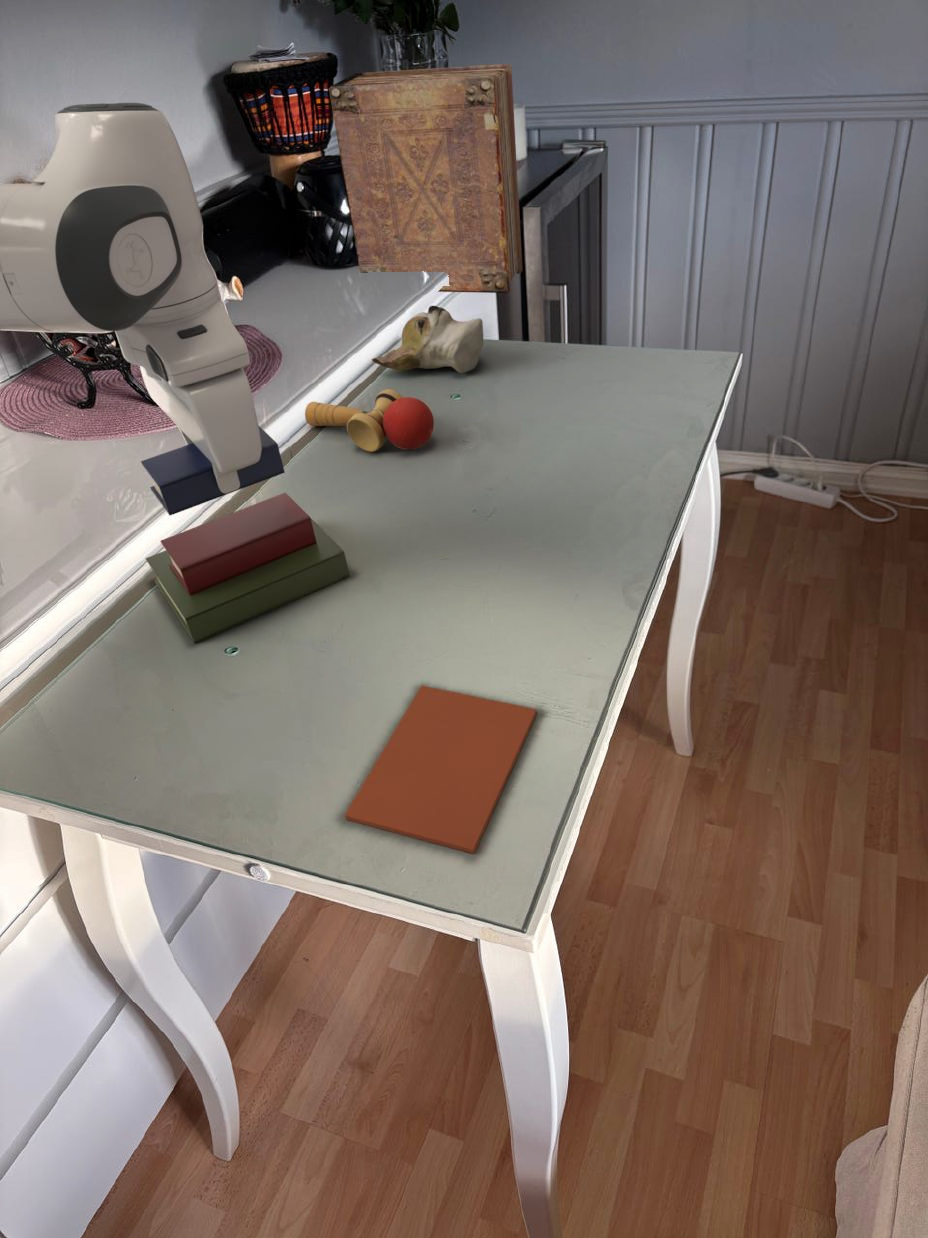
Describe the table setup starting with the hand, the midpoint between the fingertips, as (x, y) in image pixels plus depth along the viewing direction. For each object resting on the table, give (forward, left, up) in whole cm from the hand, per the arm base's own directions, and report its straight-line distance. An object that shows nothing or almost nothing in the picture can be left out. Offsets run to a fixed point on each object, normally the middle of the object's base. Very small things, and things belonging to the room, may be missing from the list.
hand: (216, 474), depth 82 cm
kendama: (+23, +18, -12) cm, 32 cm away
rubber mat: (+3, -32, -12) cm, 35 cm away
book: (+58, +58, -12) cm, 83 cm away
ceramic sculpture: (+40, +30, -12) cm, 51 cm away
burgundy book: (0, 0, -9) cm, 9 cm away
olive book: (0, 0, -12) cm, 12 cm away
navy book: (0, 0, -1) cm, 1 cm away
